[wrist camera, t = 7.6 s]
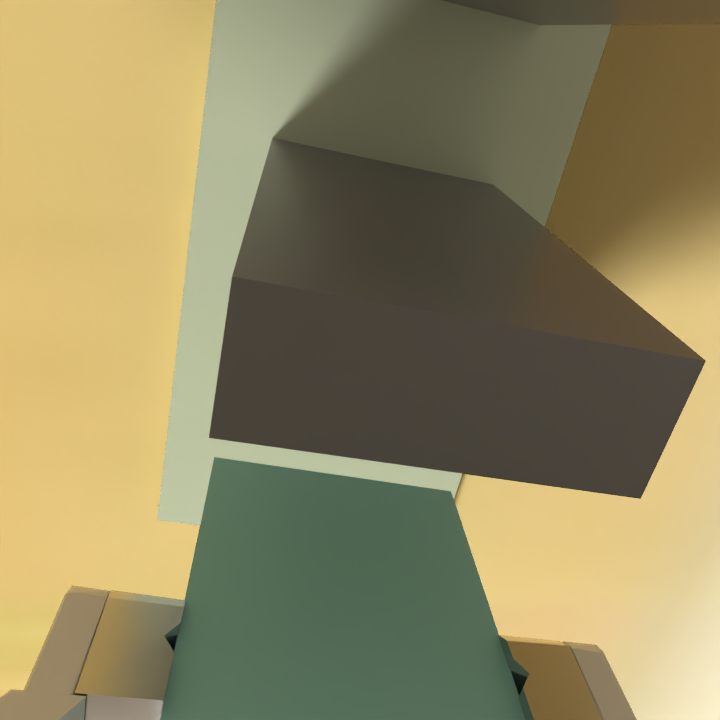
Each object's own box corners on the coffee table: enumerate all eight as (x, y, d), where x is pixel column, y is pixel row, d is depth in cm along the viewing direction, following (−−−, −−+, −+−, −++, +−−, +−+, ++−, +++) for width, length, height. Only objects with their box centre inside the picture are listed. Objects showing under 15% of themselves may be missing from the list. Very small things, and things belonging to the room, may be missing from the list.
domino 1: (272, 138, 13) (232, 277, 6) (493, 184, 14) (705, 361, 6) (259, 220, 14) (208, 437, 6) (470, 261, 14) (641, 498, 7)
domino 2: (214, 457, 12) (87, 1072, 5) (450, 491, 13) (644, 1071, 6) (202, 528, 13) (73, 1167, 6) (428, 557, 13) (576, 1155, 6)
